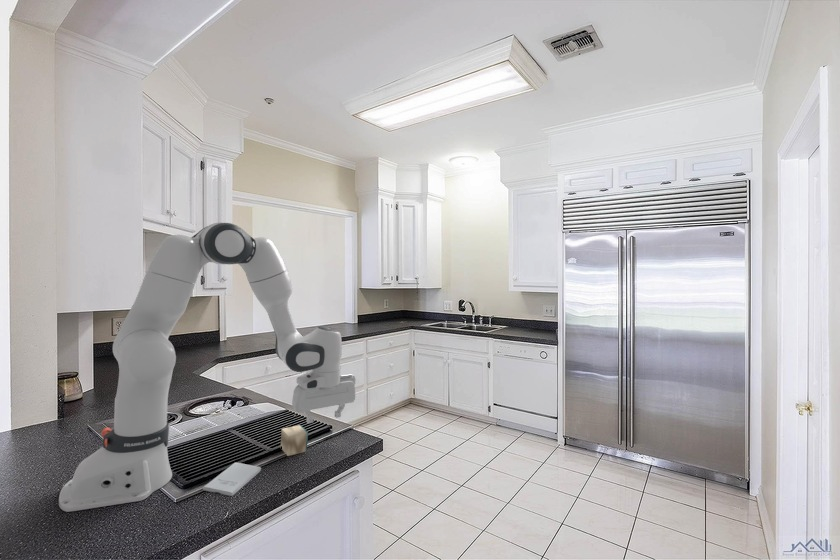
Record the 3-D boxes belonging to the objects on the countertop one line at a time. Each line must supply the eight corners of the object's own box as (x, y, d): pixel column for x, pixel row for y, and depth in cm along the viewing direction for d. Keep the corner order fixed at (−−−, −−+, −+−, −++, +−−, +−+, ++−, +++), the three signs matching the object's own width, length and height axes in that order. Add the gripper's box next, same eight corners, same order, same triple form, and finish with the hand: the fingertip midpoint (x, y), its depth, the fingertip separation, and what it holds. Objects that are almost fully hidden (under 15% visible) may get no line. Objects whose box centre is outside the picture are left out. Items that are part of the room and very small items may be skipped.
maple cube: (306, 451, 126) (287, 456, 123) (299, 443, 131) (280, 447, 127) (307, 432, 126) (288, 436, 122) (300, 424, 131) (281, 428, 127)
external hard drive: (260, 472, 114) (231, 498, 102) (234, 467, 115) (202, 492, 103) (261, 467, 114) (232, 492, 102) (234, 461, 115) (203, 485, 103)
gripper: (351, 370, 140) (349, 410, 141) (291, 378, 128) (289, 421, 129) (360, 376, 135) (357, 417, 136) (298, 384, 123) (296, 429, 124)
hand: (323, 419), depth 132 cm, fingers open, 8 cm apart
